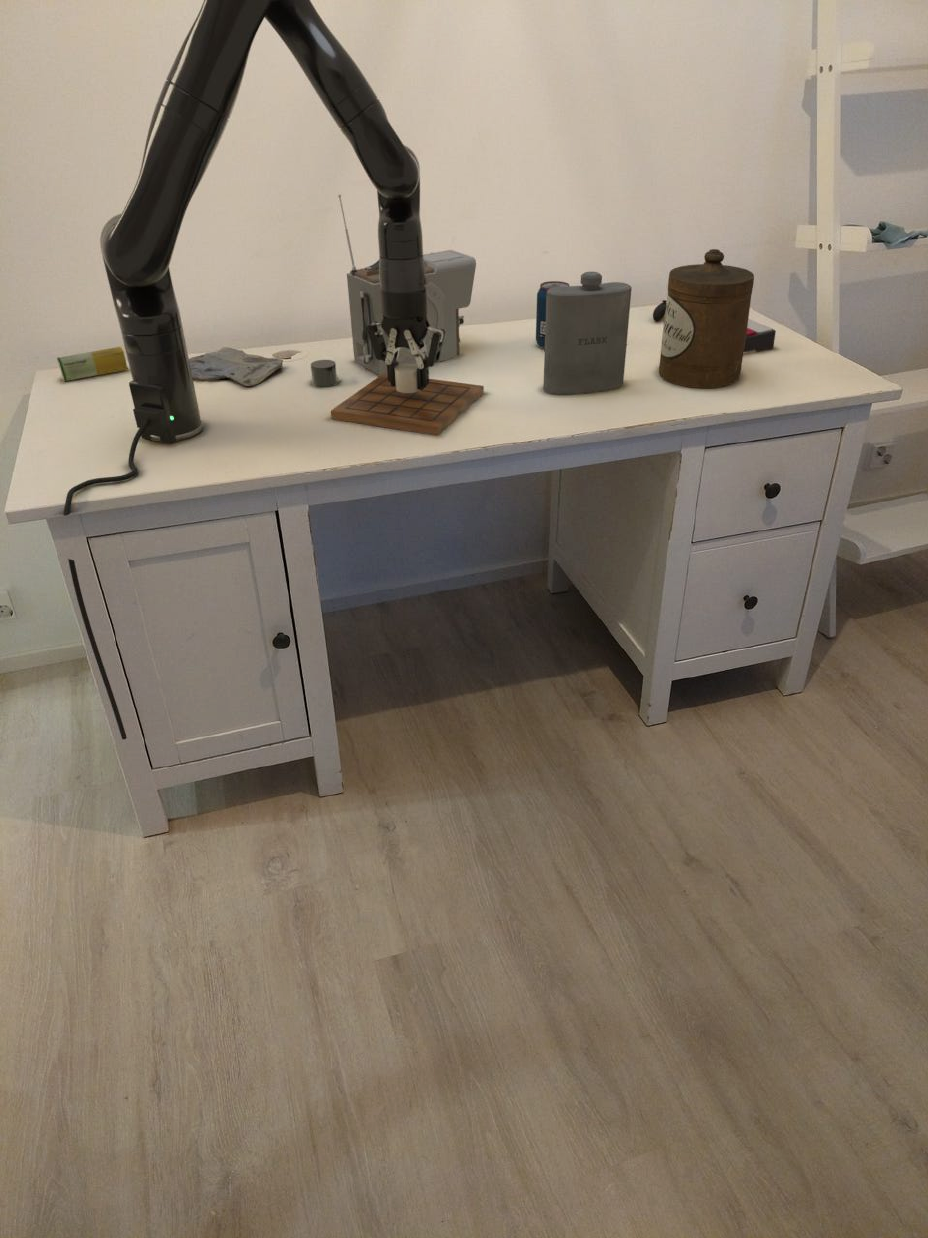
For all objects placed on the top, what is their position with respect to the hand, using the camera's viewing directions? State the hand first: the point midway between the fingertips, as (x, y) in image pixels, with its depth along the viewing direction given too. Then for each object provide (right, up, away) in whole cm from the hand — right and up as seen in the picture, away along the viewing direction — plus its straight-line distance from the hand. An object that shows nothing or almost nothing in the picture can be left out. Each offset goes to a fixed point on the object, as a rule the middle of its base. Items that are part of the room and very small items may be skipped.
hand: (408, 385), depth 153 cm
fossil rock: (-36, +7, +18) cm, 40 cm away
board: (0, -3, +2) cm, 4 cm away
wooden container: (+53, +5, +12) cm, 55 cm away
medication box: (-62, +7, +18) cm, 65 cm away
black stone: (-16, +4, +12) cm, 21 cm away
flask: (+31, +1, +8) cm, 32 cm away
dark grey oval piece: (+56, +25, +41) cm, 74 cm away
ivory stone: (0, 0, 0) cm, 0 cm away
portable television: (-1, +12, +24) cm, 27 cm away
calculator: (+62, +14, +25) cm, 69 cm away
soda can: (+28, +15, +28) cm, 42 cm away
